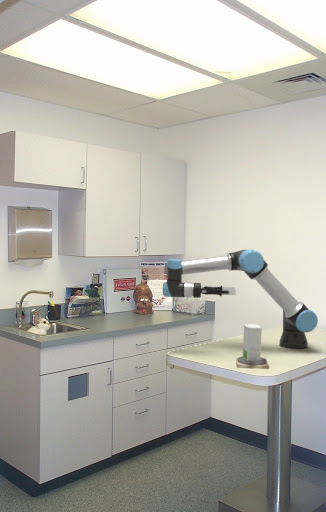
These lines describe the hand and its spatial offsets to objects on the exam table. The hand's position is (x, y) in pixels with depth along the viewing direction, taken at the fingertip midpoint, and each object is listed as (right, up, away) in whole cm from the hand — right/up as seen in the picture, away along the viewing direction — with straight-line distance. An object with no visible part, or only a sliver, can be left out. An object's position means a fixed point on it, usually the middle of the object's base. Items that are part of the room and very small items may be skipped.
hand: (235, 291), depth 244 cm
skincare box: (+5, -30, -21) cm, 37 cm away
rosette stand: (+5, -32, -20) cm, 39 cm away
